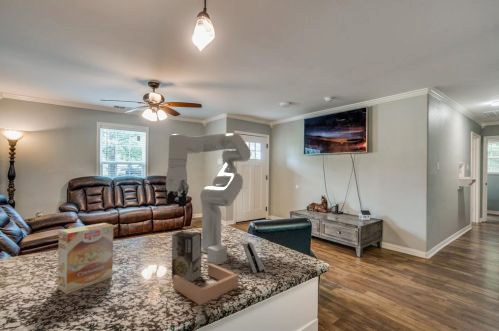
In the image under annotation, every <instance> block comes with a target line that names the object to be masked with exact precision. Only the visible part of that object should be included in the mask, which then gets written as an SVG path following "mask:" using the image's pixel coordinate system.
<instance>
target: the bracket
mask: <svg viewBox="0 0 499 331" xmlns="http://www.w3.org/2000/svg"><path fill="white" fill-rule="evenodd" d="M207 276H210V277H212V278H214V279H216V280H218V281H215V282H213V283H210V284H208V285H205V286H203V287H200V286H199V285H196V284H195V283H193V282H191V281H188V280H186V279H184V278H182V277H180V276H179V275H176V276H174V279H173V285H172V286H173V289H174V290H175V291H177V292H178V293H180V294H182V295H183V296H185V297H186V298H188V299H190V300H191V301H192V302H195V303H196V304H197V305H198V306H201V305H203V304H205V303H208V302H209V301H212V300H214V299H217V298H218V297H220V296H222V295H225V294H226V293H228V292H231V291H233V290H235V289H237V288H239V276H240V275H239V274H237V273H235V272H233V271H231V270H228V269H226V268H223V267H221V266H218V264H217V265H216V264H213V263H211V262H209V263H208V264H207Z"/></svg>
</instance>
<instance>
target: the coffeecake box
mask: <svg viewBox="0 0 499 331" xmlns="http://www.w3.org/2000/svg"><path fill="white" fill-rule="evenodd" d="M57 251H58V252H57V253H58V254H57V255H58V257H57V289H58V290H59V291H61V292H63V293H64V294H65V295H68V294H71V293H73V292H76V291H79V290H81V289H84V288H86V287H87V288H88V287H89V286H92V285H95V284H97V283H100V282H103V281H106V280H108V279H111V278H113V264H114V261H113V260H114V259H113V257H114V256H113V255H114V252H113V251H114V224H111V223H108V222H101V223H95V224H90V225H84V226H78V227H72V228H66V229H59V230H58V250H57Z"/></svg>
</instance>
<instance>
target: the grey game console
mask: <svg viewBox="0 0 499 331" xmlns="http://www.w3.org/2000/svg"><path fill="white" fill-rule="evenodd" d="M242 247H243V250H244V252H245V255H246V256H245V257H246V258H247V260H248V263H249V265H250V267H251V270H252V272H253V274H257V273H258V271H260V272H261V271H263V270H264V272H265V273H267V269H266V267H265V266H264V264H263V262H262V260H261V259H260V257H259V256H258V253H257V250H256V249H255V246H254V245H253V243H252V242H251V241H249V242H247V243H244V244H243V245H242Z"/></svg>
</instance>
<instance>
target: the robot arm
mask: <svg viewBox="0 0 499 331" xmlns="http://www.w3.org/2000/svg"><path fill="white" fill-rule="evenodd" d="M216 151H217V152H218V151H222V154H221V156H222V157H221V158H222V167H221V168H220V169H219V171H218V173H217V174H216V176H215V177H214V179H213V181H212V185H209V186H208V185H207V186H204V187H203V188H202V190H200V203H201V209H202V210H201V213H202V214H201V253H204V254H207V250H208V247H211V246H215V245H221V246H224V245H223V244H222V211H221V208H220V207H230V206H232V204H233V203H234V202H235V200H236V199H237V197H238V195H239V194H240V192H241V190H242V189H243V188H242V187H243V186H244V180H243V176H242V175H241V174H240V173H238V170H237V168H236V165H235V164H234V162H239V163H240V162H242V163H243V162H247V161H249V160H250V159H251V155H252V154H251V150H250V148H249V146H248V144H247V143H246V141H245V140H244V138H243V137H242V136H241V135H240V134H238V132H229V133H228V132H227V133H215V134H214V133H213V134H212V133H211V134H203V135H196V136H195V135H194V136H193V135H191V136H189V135H185V134H180V133H174V134H170V135H169V138H168V155H167V156H168V157H167V158H168V162H167V172H166V178H165V180H166V181H165V190H166V204H167V205H174V204H175V200H176V199H175V198H176V197H175V192H177V193H178V195H179V196H178V198H177V199H178V200H177V202H178V204H177V206H178V207H179V208H181V207H183V208H184V207H187V196H188V193H189V189H190V185H189V184H188V171H187V167H188V154H190V155H194V154H199V153H208V152H209V153H210V152H216Z"/></svg>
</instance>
